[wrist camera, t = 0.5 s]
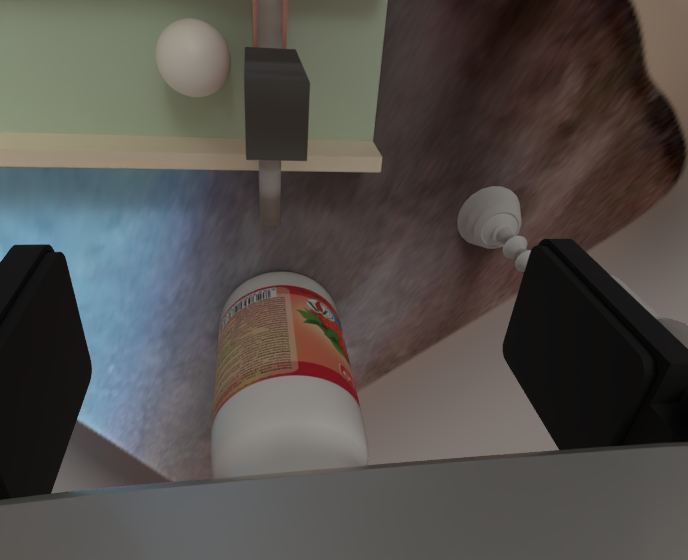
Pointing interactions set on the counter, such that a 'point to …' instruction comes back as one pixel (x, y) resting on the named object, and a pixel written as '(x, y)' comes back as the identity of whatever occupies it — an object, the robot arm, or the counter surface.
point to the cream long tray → (163, 101)
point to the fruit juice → (283, 382)
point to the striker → (274, 104)
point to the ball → (193, 57)
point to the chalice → (519, 237)
